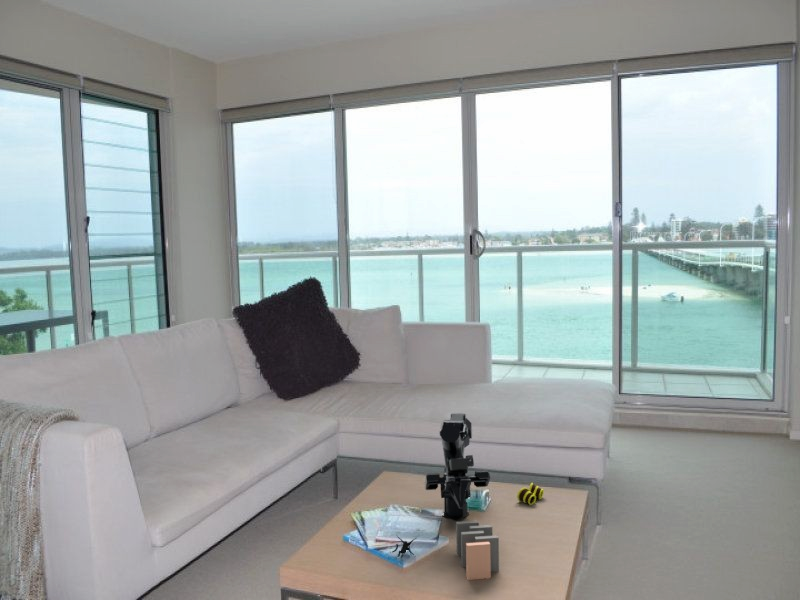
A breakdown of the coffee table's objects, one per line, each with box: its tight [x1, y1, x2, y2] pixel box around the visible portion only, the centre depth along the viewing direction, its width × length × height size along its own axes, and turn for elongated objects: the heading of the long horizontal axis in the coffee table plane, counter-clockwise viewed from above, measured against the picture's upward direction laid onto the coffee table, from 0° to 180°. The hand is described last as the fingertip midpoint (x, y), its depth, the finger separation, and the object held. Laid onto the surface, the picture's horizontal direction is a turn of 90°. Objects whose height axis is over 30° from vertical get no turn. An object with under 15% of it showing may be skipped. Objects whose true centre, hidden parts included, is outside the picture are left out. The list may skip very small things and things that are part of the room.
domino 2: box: [455, 520, 480, 557], centre depth 180 cm, size 1×6×9 cm, turn 96°
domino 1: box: [469, 524, 493, 536], centre depth 177 cm, size 1×6×9 cm, turn 96°
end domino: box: [465, 542, 492, 581], centre depth 167 cm, size 1×6×9 cm, turn 96°
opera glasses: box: [516, 482, 544, 506], centre depth 217 cm, size 10×5×5 cm, turn 140°
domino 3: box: [460, 531, 484, 568], centre depth 174 cm, size 1×6×9 cm, turn 96°
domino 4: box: [475, 535, 500, 572], centre depth 171 cm, size 1×6×9 cm, turn 96°
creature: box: [391, 534, 417, 559], centre depth 179 cm, size 8×5×8 cm
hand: (461, 508), depth 187 cm, fingers closed
